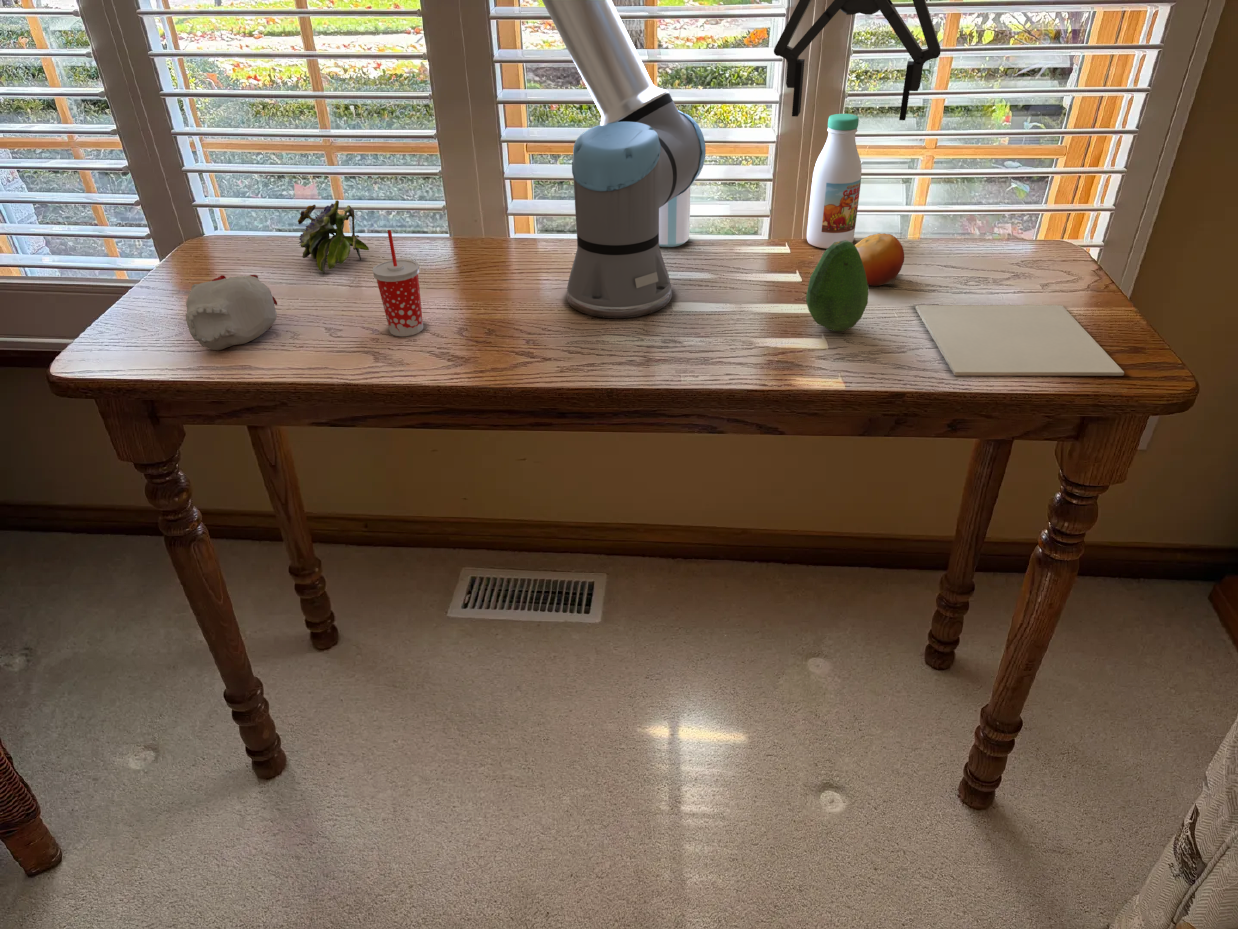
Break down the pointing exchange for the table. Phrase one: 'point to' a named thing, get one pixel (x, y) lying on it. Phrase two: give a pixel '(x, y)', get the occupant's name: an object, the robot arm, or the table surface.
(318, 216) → the passion flower
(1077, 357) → the corner mat
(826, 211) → the milk bottle
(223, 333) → the grey rounded lump
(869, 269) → the fruit
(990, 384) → the table surface
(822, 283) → the avocado
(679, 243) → the can
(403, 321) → the beverage cup
